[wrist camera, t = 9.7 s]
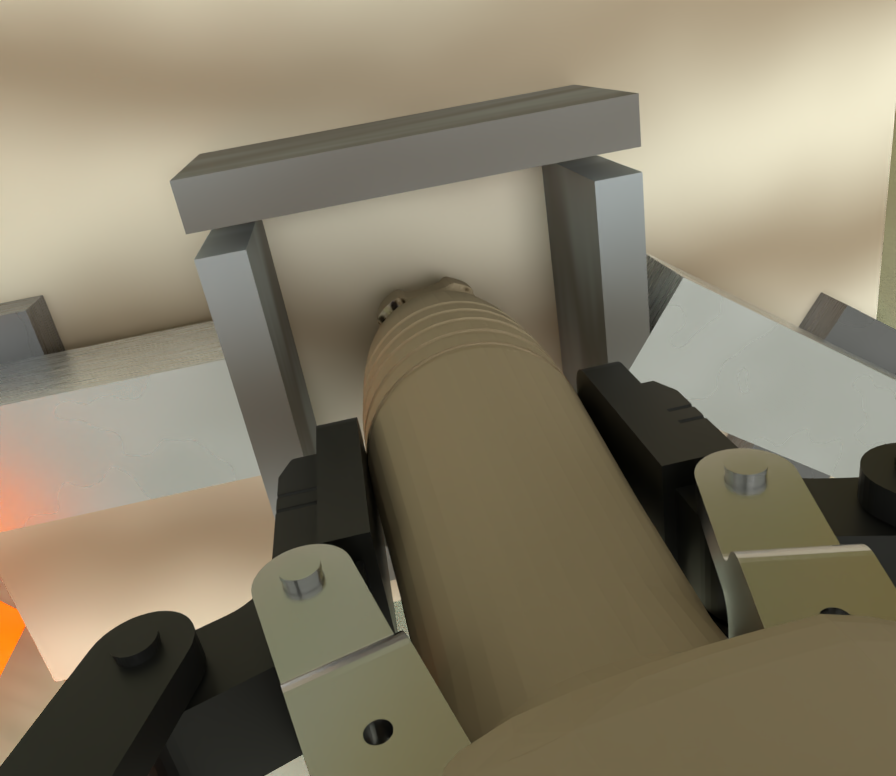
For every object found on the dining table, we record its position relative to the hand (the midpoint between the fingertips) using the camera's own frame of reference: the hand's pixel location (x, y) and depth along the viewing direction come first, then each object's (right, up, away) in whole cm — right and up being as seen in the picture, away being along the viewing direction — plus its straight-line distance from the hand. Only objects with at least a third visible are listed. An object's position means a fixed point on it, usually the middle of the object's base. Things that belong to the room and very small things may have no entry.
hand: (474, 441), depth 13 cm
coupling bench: (-1, +3, +7) cm, 8 cm away
